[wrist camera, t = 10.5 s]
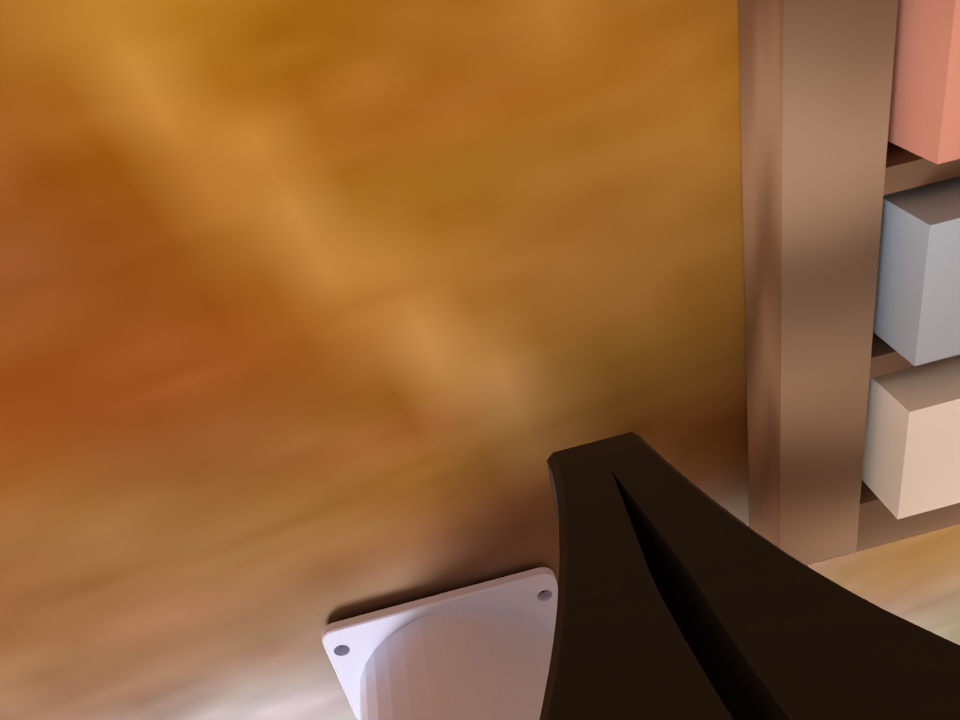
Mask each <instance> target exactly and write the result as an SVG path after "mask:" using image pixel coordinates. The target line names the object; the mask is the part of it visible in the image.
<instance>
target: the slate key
mask: <svg viewBox="0 0 960 720" xmlns="http://www.w3.org/2000/svg"><path fill="white" fill-rule="evenodd" d="M873 332H874V333H875V334H876V335H878V336H879V337H880V338H881V339H882V340H884V341H885V342H886V343H887V344H888V345H890V346H891V347H892V348H893V349H894V350H896V351H897V352H898V353H899V354H900V355H902V356H903V357H904V358H905V359H906V360H908V361H909V362H910V363H911V364H912V365H914V366H917V365H921V364H925V363H929V362H932V361H936V360H940V359H944V358H948V357H951V356H955V355H959V354H960V176H958V177H954V178H950V179H946V180H942V181H938V182H934V183H931V184H927V185H923V186H919V187H915V188H911V189H907V190H903V191H899V192H895V193H891V194H887V195H883V207H882V220H881V233H880V246H879V259H878V272H877V285H876V299H875V312H874V325H873Z"/></svg>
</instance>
